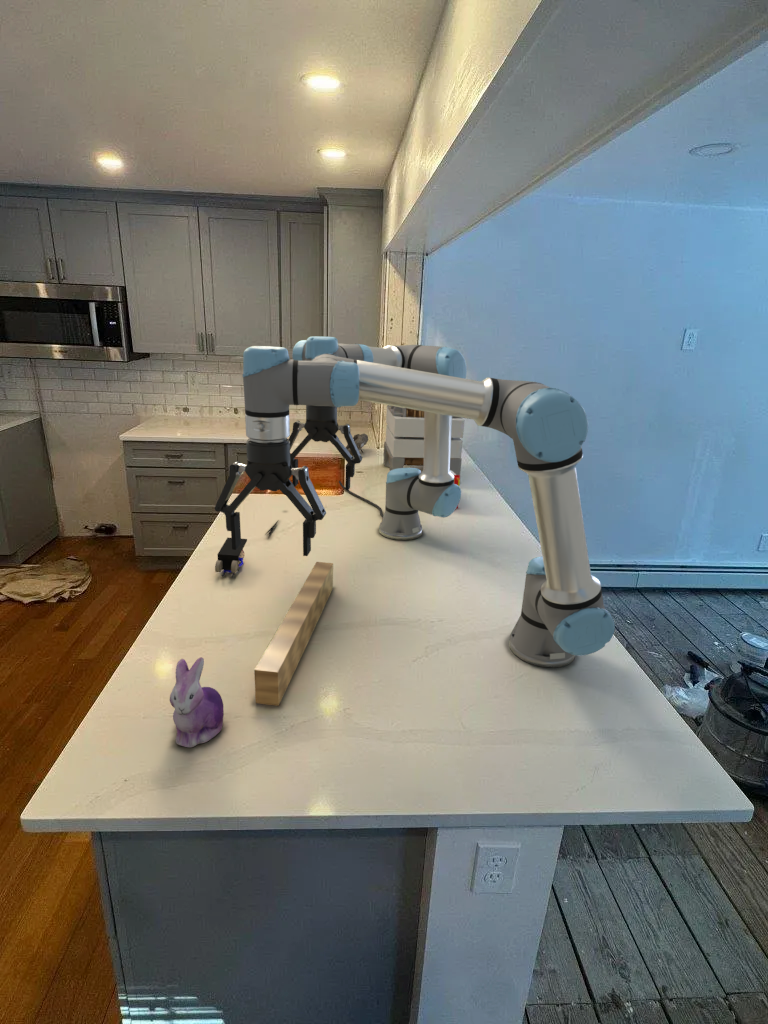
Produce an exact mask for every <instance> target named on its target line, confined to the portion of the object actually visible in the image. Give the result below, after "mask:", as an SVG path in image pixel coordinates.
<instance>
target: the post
mask: <svg viewBox="0 0 768 1024" xmlns="http://www.w3.org/2000/svg"><path fill="white" fill-rule="evenodd" d="M333 589H334V563H333V562H325V561H316V562H315V563H314V565H313V567H312V569H311V571H310V572H309V574H308V576H307V577H306V579H305V581H304V583H303V584H302V586H301V588H300V590H299V592H298V593H297V595H296V596H295V599H294V600H293V601H292V603H291V605H290V607H289V609H288V611H287V612H286V613H285V615H284V617H283V619H282V621H281V622H280V624H279V627H278V628H277V630H276V631H275V633H274V635H273V637H272V639H271V640H270V642H269V644H268V645H267V647H266V649H265V650H264V652H263V654H262V655H261V657H260V659H259V661H258V663H257V664H256V666H255V668H254V670H253V671H254V673H253V674H254V696H255V697H254V698H255V704H259V705H268V706H275V707H276V706H277V707H279V706H280V704H281V702H282V700H283V697H284V695H285V693H286V691H287V689H288V687H289V685H290V682H291V681H292V678H293V676H294V673H295V671H296V669H297V667H298V665H299V663H300V660H301V659H302V656H303V654H304V652H305V650H306V649H307V648H306V647H307V645H308V644H309V642H310V639H311V637H312V634H313V632H314V630H315V628H316V626H317V624H318V622H319V619H320V618H321V615H322V613H323V610H324V609H325V606H326V605H327V602H328V600H329V598H330V595H331V593H332V591H333Z"/></svg>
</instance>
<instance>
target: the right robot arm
mask: <svg viewBox="0 0 768 1024" xmlns="http://www.w3.org/2000/svg"><path fill="white" fill-rule="evenodd" d="M242 364H243V365H242V367H243V370H242V383H243V385H242V386H243V397H244V398H243V399H244V419H245V420H244V421H245V436H246V437H247V438H248V439H247V440H246V441H245V447H246V448H245V449H246V461H247V463H246V464H244V463H242V462H240V461H239V460H236V461H234V462H232V463H231V464H230V465H229V472H228V478H227V479H226V482H225V483H224V487H223V488H222V491H221V493H220V495H219V497H218V499H217V501H216V504H215V506H214V510H215V512H217V513H219V512H220V513H222V514H224V516H225V527H226V531H227V532H230V536H231V537H230V538H231V539H232V549H233V550H236V549H237V548H238V547H239V546H240V545H241V539H242V530H241V513H240V511H236V510H237V509H238V508H239V507H240V505H242V503H243V502H244V501H245V500H246V499H247V497H248V496H249V495H250V494H251V493H252V492H253V490H255V488H257V489H259V491H271V492H278V491H280V492H281V493H282V494H283V496H285V497H287V498H288V500H290V502H291V503H292V504H293V506H294V507H295V508H296V510H297V511H298V512H299V513H300V514H301V515H302V517H303V518H304V521H303V522H302V556H303V557H308V556H309V554H310V553H311V551H312V539H314V538H315V537H316V534H317V521H322V520H324V517H325V516H326V514H327V510H326V509H325V507H324V504H323V502H322V501H321V499H320V498H321V497H319V495H318V493H317V490H316V488H315V486H314V484H313V482H312V481H311V477H310V472H309V467H308V466H307V465H302V466H301V467H298V468H292V467H291V464H290V454H291V449H290V441H289V440H288V439H289V437H290V435H291V428H290V427H291V426H290V425H291V422H290V406H306V405H313V406H336V407H337V408H341V407H354V406H356V405H357V404H358V403H359V401H362V402H366V403H367V402H368V403H372V404H379V405H384V406H387V405H390V406H396V407H402V408H408V409H414V410H419V411H425V412H431V413H437V414H443V415H449V416H455V417H461V418H462V419H467V420H472V421H474V422H475V424H476V425H477V426H478V427H485V428H489V429H493V430H496V431H498V432H500V433H503V434H504V435H506V436H508V437H509V438H510V439H512V442H513V447H514V453H515V456H516V462H517V468H518V469H519V470H520V471H521V472H523V473H525V474H527V477H528V483H529V489H530V493H531V500H532V506H533V511H534V516H535V522H536V527H537V528H536V529H537V534H538V539H539V544H540V551H541V556H536V557H533V558H532V559H530V560H529V562H528V564H527V568H526V571H525V580H524V581H525V582H524V587H523V596H522V603H521V609H520V610H521V611H520V615H519V617H518V619H517V621H516V623H515V625H514V627H513V628H512V630H511V631H510V635H509V639H508V646H509V649H510V651H511V652H512V654H514V655H515V656H516V657H517V658H519V659H520V660H522V661H524V662H526V663H529V664H530V665H533V666H538V667H543V668H562V667H565V666H567V665H569V664H571V663H572V662H573V661H574V660H575V658H576V656H578V657H579V656H580V657H582V656H589V655H592V654H595V653H597V652H599V651H600V650H602V649H603V648H605V647H606V644H607V643H609V642H610V641H611V640H612V638H613V636H614V633H615V629H616V626H615V621H614V618H613V616H612V614H611V613H610V611H609V610H607V609H606V607H605V604H604V596H603V591H602V583H601V581H600V580H599V579H598V578H597V577H596V576H594V575H593V574H592V571H591V564H590V556H589V550H588V544H587V537H586V530H585V529H586V528H585V523H584V522H585V521H584V516H583V507H582V502H581V495H580V488H579V481H578V474H577V465H578V464H579V463H580V462H581V461H582V459H584V458H583V457H584V452H583V444H584V442H585V441H586V439H587V437H588V433H589V419H588V416H587V413H586V411H585V408H584V407H583V406H582V404H581V403H580V401H579V400H578V399H577V398H575V397H574V396H573V395H572V394H570V393H569V392H567V391H565V390H563V389H559V388H556V387H550V386H548V385H546V384H544V383H542V382H538V381H533V380H532V381H531V380H514V379H512V380H511V379H502V378H495V377H489V376H488V377H485V378H484V379H483V380H481V381H480V380H474V379H469V378H466V379H464V378H458V377H452V376H447V375H441V374H435V373H430V372H424V371H418V370H412V369H407V368H401V367H395V366H389V365H384V364H378V363H372V362H366V361H361V360H353V359H349V358H343V357H338V356H336V355H334V354H330V353H324V354H319V355H318V356H316V357H315V358H313V359H312V360H311V361H298V360H293V358H292V359H291V358H290V355H289V351H288V349H287V348H286V347H284V346H282V347H281V346H272V345H252V346H248V347H247V348H246V349H244V351H243V363H242ZM244 473H245V474H246V475H247V476H248V478H249V479H250V481H248V483H247V484H246V486H244V488H243V489H242V490H241V491H240V492H239V494H237V496H236V497H235V498H234V500H233V501H231V503H230V504H228V502H229V500H230V499H231V496H232V494H233V492H234V489H235V487H236V486H237V483H238V481H239V479H240V477H241V476H242V475H243V474H244ZM292 475H294V476H295V477H296V479H297V480H298V483H299V485H300V488H301V490H302V492H303V493H304V496H305V498H306V499H305V498H304V497H303V496H302V494H301V493H300V492H299V491H298V489H296V487H294V485H293V481H292V480H291V477H292Z"/></svg>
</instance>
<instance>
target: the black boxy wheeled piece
mask: <svg viewBox="0 0 768 1024" xmlns="http://www.w3.org/2000/svg"><path fill="white" fill-rule="evenodd" d="M247 542H248V538H241V545H240V546H239V547H238V548H237V549H236V550H233V549H232V539H231V537H226V539H225V541H224V543H223V544H222V546H221V547H220V549H219V551H218V552H217V560H216V562H215V564H214V572H215V573H221V577H222V578H224V577H225V576H226V574H227V573H230V574H231V573H232V574H231V578H234V577H235V575H236V573H237V572H239V571H240V567H242V566H243V565H244V564H245V562H244V558H245V551H244V547H245V546H246V544H247Z"/></svg>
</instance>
